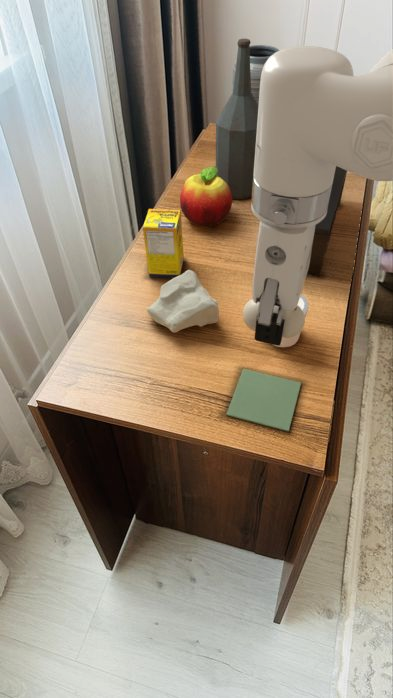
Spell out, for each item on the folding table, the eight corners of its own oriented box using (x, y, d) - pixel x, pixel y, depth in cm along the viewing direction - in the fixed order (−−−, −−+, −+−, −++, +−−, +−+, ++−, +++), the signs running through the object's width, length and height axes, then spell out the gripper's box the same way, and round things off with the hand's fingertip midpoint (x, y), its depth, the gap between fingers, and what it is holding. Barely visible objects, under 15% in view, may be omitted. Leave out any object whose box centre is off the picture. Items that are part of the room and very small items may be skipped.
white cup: (255, 343, 80) (257, 311, 75) (267, 316, 85) (271, 284, 80) (296, 355, 78) (302, 323, 73) (307, 326, 83) (313, 294, 78)
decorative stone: (136, 312, 84) (158, 257, 81) (173, 317, 91) (194, 266, 88) (178, 343, 77) (203, 284, 75) (214, 345, 84) (238, 291, 82)
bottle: (247, 174, 118) (255, 28, 96) (268, 193, 112) (282, 42, 90) (208, 184, 115) (207, 36, 93) (227, 204, 109) (231, 51, 87)
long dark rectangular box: (339, 204, 108) (349, 160, 101) (320, 276, 92) (329, 230, 84) (294, 197, 110) (300, 154, 103) (266, 266, 94) (271, 220, 87)
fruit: (172, 227, 104) (169, 182, 96) (194, 201, 110) (192, 158, 103) (219, 238, 100) (220, 193, 93) (239, 211, 107) (241, 167, 100)
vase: (274, 165, 121) (284, 61, 104) (227, 162, 122) (229, 58, 105) (278, 144, 128) (288, 43, 111) (234, 141, 130) (237, 41, 113)
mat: (301, 383, 75) (301, 382, 74) (288, 431, 69) (288, 430, 69) (243, 369, 77) (243, 368, 76) (226, 415, 71) (226, 414, 71)
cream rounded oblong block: (305, 324, 63) (310, 298, 60) (298, 348, 60) (303, 322, 57) (246, 311, 65) (249, 285, 61) (237, 334, 62) (239, 308, 59)
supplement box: (183, 259, 96) (181, 208, 88) (180, 278, 92) (177, 228, 84) (153, 257, 97) (148, 207, 89) (148, 277, 93) (142, 226, 85)
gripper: (313, 251, 42) (288, 385, 56) (341, 161, 53) (314, 291, 67) (229, 235, 44) (224, 369, 58) (272, 151, 55) (259, 280, 68)
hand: (272, 326), depth 62 cm, fingers closed on cream rounded oblong block, 4 cm apart
